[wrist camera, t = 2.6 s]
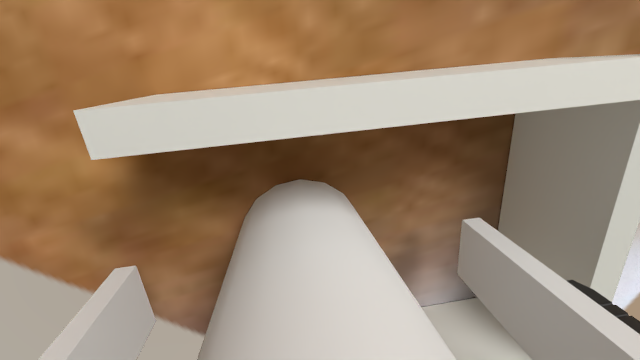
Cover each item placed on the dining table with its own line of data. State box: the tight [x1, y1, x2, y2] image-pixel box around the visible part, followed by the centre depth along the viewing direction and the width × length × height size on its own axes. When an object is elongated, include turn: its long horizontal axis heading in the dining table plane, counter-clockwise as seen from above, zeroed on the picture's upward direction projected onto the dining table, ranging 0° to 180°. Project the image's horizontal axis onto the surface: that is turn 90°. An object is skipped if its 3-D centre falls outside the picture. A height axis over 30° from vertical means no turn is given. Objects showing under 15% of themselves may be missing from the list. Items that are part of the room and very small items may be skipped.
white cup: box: [197, 179, 456, 360], centre depth 10 cm, size 7×7×10 cm
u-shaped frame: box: [74, 54, 640, 360], centre depth 13 cm, size 14×17×5 cm
